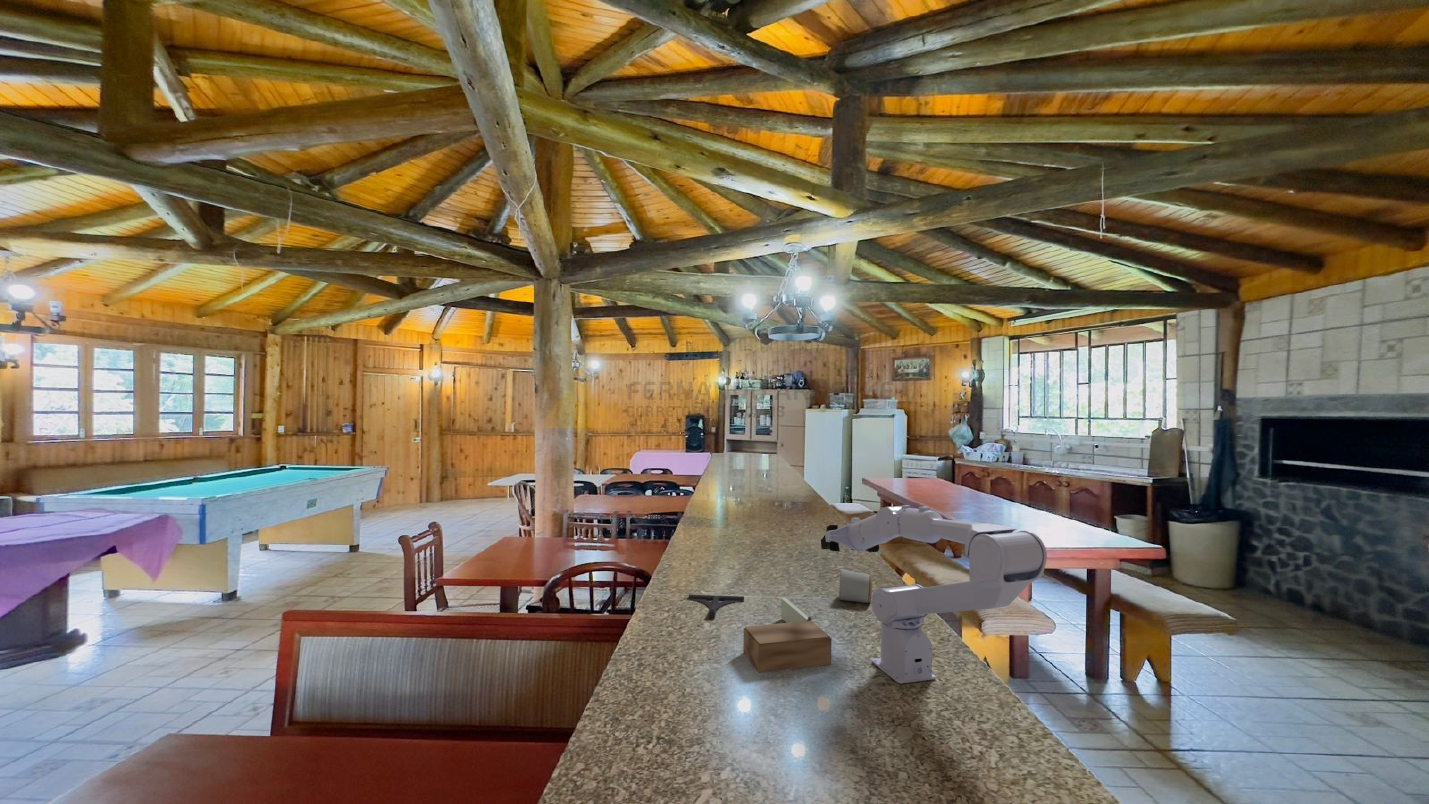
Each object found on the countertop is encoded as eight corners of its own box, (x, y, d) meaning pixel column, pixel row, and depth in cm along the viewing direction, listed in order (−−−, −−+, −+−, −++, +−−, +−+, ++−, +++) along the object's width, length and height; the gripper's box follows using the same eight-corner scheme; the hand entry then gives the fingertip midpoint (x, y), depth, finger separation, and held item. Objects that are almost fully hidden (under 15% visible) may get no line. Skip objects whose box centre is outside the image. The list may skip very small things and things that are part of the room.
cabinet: (832, 664, 108) (833, 635, 108) (758, 673, 104) (759, 642, 104) (810, 643, 118) (810, 616, 118) (741, 650, 114) (741, 622, 114)
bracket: (681, 621, 131) (681, 609, 131) (689, 599, 146) (689, 589, 146) (742, 624, 130) (742, 612, 130) (744, 602, 145) (744, 591, 145)
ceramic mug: (871, 607, 140) (872, 576, 141) (838, 603, 143) (839, 573, 143) (872, 595, 150) (873, 566, 151) (841, 591, 153) (842, 563, 153)
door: (814, 640, 118) (815, 618, 118) (806, 641, 118) (806, 619, 118) (788, 616, 132) (789, 597, 132) (780, 617, 131) (781, 597, 131)
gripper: (896, 514, 120) (861, 528, 131) (837, 511, 115) (806, 526, 127) (902, 547, 117) (866, 559, 128) (842, 545, 112) (810, 558, 124)
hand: (837, 544), depth 127 cm, fingers open, 7 cm apart
